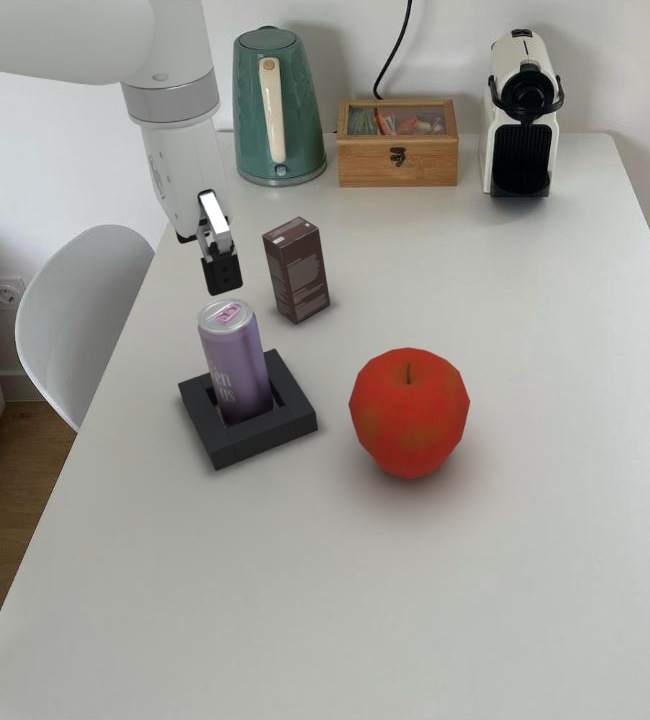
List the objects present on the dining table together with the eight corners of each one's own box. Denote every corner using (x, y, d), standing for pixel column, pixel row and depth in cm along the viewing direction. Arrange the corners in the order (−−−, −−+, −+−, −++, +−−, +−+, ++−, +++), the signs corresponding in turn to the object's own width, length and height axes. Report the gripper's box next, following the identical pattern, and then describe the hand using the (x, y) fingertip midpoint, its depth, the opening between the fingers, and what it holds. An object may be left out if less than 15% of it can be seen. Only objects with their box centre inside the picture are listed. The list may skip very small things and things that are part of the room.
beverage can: (285, 408, 93) (266, 306, 83) (253, 442, 90) (228, 340, 79) (245, 390, 96) (221, 289, 85) (211, 423, 92) (183, 321, 82)
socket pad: (215, 471, 87) (210, 452, 85) (183, 401, 95) (177, 383, 93) (318, 429, 91) (315, 411, 89) (278, 366, 99) (275, 347, 97)
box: (310, 290, 109) (299, 214, 101) (331, 305, 107) (321, 228, 99) (274, 310, 107) (259, 233, 98) (294, 326, 104) (281, 248, 96)
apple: (348, 427, 91) (336, 331, 81) (452, 409, 92) (453, 314, 83) (365, 515, 82) (354, 419, 72) (480, 494, 83) (484, 398, 74)
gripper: (101, 65, 71) (147, 231, 82) (154, 146, 59) (199, 326, 71) (185, 48, 73) (218, 211, 85) (251, 122, 62) (279, 299, 73)
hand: (209, 263), depth 78 cm, fingers open, 9 cm apart
